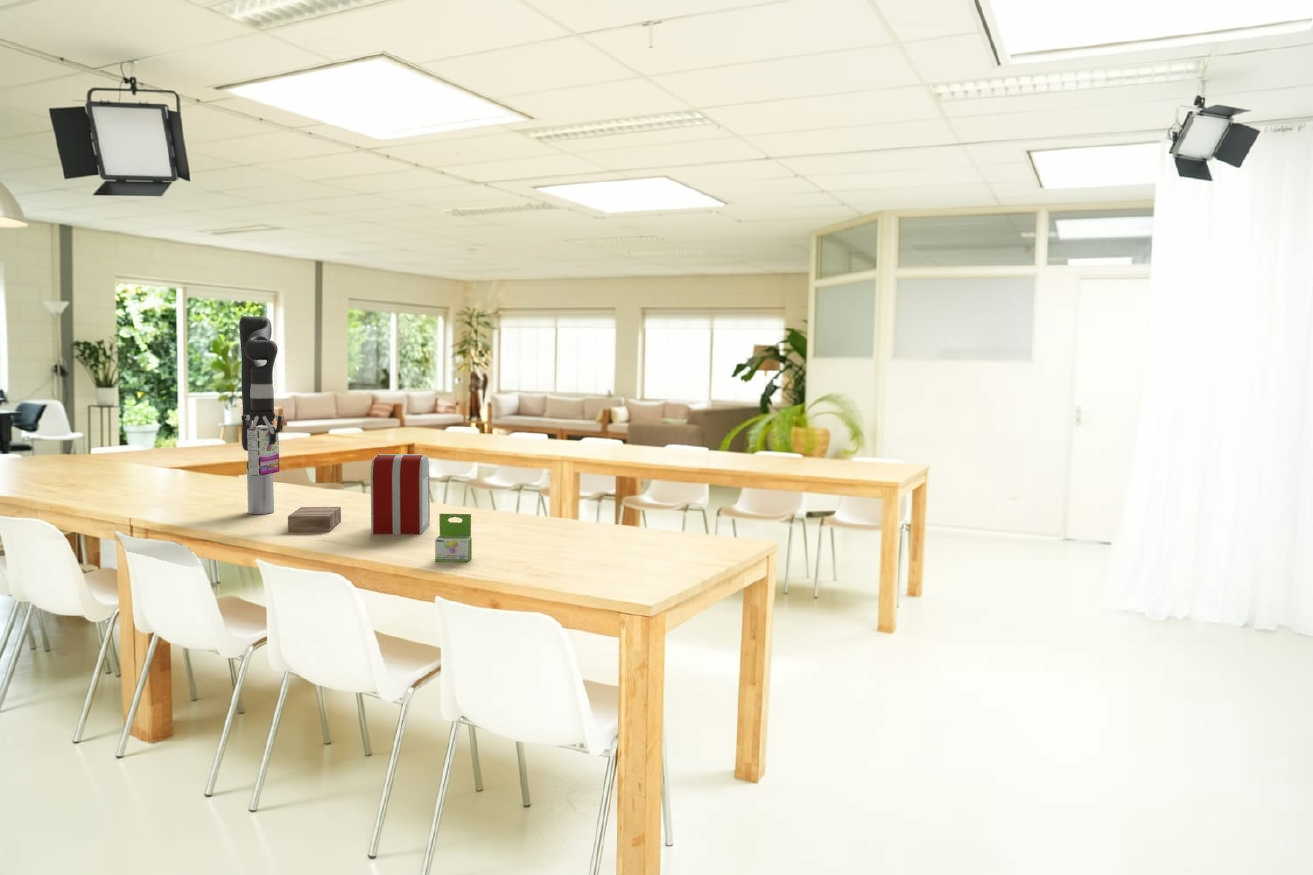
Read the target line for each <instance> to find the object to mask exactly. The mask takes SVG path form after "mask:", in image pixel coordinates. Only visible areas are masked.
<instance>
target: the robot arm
mask: <svg viewBox="0 0 1313 875" xmlns="http://www.w3.org/2000/svg"><path fill="white" fill-rule="evenodd" d="M238 326H239V327H238V329H239V341H240V355H241V357H240V358H241V373H240V374H241V375H240V376H241V378H240V379H241V400H242V401H241V402H242V403H241V404H242V415H241V423H242V424H241V446H242V449H243V450H244V451H245V452H248V445H247V429H255V428H261V427H268V429H269V430H270V432H271V434H270V436H271V445H274V444H275V443H276V434H277V433H278V434H279V433H281V432H282V431H283V424H284V418H285V416H284V415H283V414H281V415H278V414H276V413H275V392H274V391H275V390H274V384H273V382H274V380H273V379H274V378H273V376H274V374H273V373H274V372H273V370H274V366H275V361H276V357H277V355H278V345H277V343H276V342H275V341H274V340H271V339H272V332H273V331H272V323H271V320H270V319H269V318H268V317H265V316H249V315H248V316H245V315H244V316H241V317H240V318H239V323H238ZM260 361H266V362H265V363H264V365H262V364H261V363H260ZM274 420H275V421H276V426H275V424H274V422H273V421H274ZM275 427H276V429H275ZM246 478H247V479H246V480H247V481H246V483H247V484H246V485H247V486H246V487H247V514H250V515H264V514H265V515H266V514H271V513H274V512H275V497H274V496H275V495H274V494H275V490H274V488H275V487H274V473H271V474H267V475H262V476H252V475H249V469H248V461H247V462H246Z"/></svg>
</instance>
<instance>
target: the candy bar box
mask: <svg viewBox="0 0 1313 875" xmlns="http://www.w3.org/2000/svg"><path fill="white" fill-rule="evenodd" d="M260 427H261V428H255V429H247V445H248V451H247V462H248V469H249V475H252V476H262V475H267V474H271V473H273V474H274V473H275V474H276V473H279V472H280V448H279V447H280V446H279V442H280V441H279V432H278V433H277V434H276V443H275V444H274V445H271V436H270V434H271V432H270V430H269V429H268V427H267V426H260ZM274 427H275V429H276V427H277V426H274Z"/></svg>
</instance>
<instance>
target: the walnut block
mask: <svg viewBox="0 0 1313 875" xmlns="http://www.w3.org/2000/svg"><path fill="white" fill-rule="evenodd" d="M341 522H342V506H301V507H299V508H297V509H296V510H295V511H294V512H292V513H290V514H289V515H288V516H287V533H330V532H332V531H333V530H334V529H335V528H337V526H338V525H340V524H341Z"/></svg>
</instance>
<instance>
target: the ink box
mask: <svg viewBox="0 0 1313 875" xmlns="http://www.w3.org/2000/svg"><path fill="white" fill-rule="evenodd" d="M438 518H439V523H438V525H439V535H438V536H437V537H436V538H435V539H434V542H435V543H434V553H435V554H434V560H435V562H439V563H440V562H441V563H442V562H445V563H447V562H448V563H449V562H451V563H453V562H454V563H468V562H469V561H470V560H471V559H472V557H473V556H472V553H473V552H472V547H473V546H472V540H473V539H472V513H439V517H438ZM452 518H458V519H460V520H461V522H456V521H452V522H451V521H449V519H452Z"/></svg>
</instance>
